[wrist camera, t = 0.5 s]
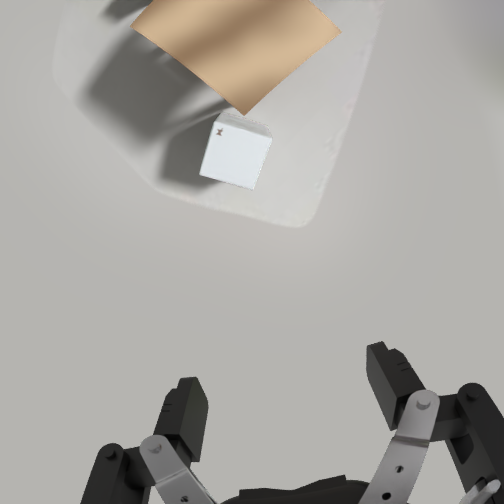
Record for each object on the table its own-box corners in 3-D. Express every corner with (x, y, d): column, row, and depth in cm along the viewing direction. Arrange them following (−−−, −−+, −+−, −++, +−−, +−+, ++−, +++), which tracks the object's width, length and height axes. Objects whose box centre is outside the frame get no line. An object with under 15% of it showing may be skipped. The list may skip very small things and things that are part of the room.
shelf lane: (173, 41, 26) (129, 26, 15) (234, -16, 21) (224, -60, 11) (247, 101, 30) (243, 115, 20) (309, 46, 26) (342, 32, 15)
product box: (207, 155, 34) (196, 175, 28) (221, 110, 31) (213, 119, 25) (253, 169, 35) (253, 192, 29) (269, 125, 32) (274, 138, 26)
